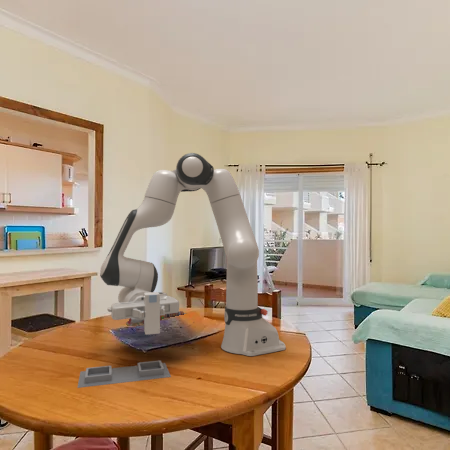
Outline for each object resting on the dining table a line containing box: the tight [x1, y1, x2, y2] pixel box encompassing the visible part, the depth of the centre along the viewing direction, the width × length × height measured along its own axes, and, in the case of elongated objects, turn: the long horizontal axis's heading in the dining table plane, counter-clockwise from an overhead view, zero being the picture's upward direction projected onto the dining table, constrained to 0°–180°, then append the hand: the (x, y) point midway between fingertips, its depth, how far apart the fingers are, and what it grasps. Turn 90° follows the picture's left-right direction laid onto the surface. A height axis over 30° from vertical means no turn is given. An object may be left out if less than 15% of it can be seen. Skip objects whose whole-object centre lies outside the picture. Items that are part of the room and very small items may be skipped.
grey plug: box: [143, 291, 161, 335], centre depth 104 cm, size 4×5×11 cm
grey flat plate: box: [77, 360, 172, 389], centre depth 102 cm, size 24×11×2 cm, turn 108°
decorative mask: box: [125, 310, 187, 326], centre depth 161 cm, size 24×8×30 cm
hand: (152, 313), depth 103 cm, fingers closed on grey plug, 4 cm apart
